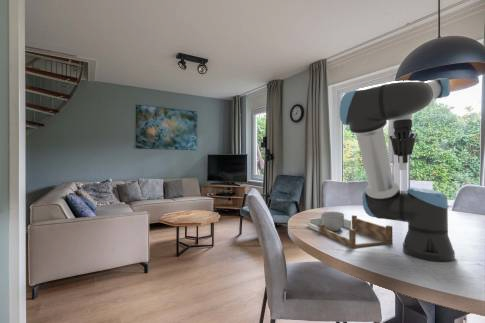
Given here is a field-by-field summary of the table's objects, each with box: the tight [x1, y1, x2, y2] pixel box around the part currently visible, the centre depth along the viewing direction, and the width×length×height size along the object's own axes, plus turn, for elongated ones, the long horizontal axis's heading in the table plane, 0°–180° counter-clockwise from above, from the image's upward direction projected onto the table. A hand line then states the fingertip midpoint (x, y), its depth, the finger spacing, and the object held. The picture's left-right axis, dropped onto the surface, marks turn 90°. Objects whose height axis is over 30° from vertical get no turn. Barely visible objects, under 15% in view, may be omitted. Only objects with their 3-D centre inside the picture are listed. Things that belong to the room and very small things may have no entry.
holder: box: [307, 217, 352, 233], centre depth 129 cm, size 10×19×4 cm, turn 106°
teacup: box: [320, 211, 345, 232], centre depth 126 cm, size 14×11×8 cm
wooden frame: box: [319, 215, 394, 249], centre depth 111 cm, size 22×20×7 cm
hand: (402, 169), depth 119 cm, fingers closed
